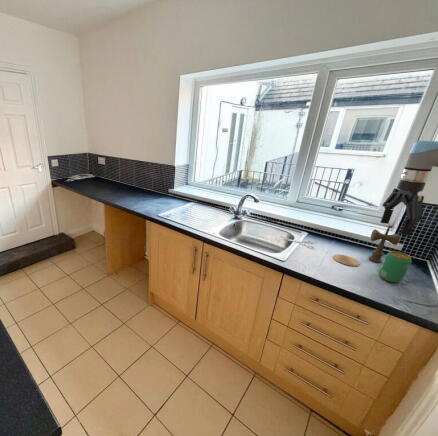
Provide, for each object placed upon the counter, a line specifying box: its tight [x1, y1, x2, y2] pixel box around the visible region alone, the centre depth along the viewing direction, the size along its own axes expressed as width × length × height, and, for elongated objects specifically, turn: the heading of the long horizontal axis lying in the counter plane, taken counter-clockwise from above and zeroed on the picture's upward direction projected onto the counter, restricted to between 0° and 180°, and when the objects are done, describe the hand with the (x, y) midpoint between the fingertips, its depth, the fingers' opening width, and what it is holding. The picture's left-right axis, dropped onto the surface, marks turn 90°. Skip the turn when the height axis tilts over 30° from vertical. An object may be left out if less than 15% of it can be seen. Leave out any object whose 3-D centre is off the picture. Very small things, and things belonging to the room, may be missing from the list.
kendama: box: [368, 225, 401, 264], centre depth 121 cm, size 6×10×20 cm, turn 58°
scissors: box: [279, 235, 318, 250], centre depth 144 cm, size 11×1×20 cm
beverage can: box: [378, 250, 413, 283], centre depth 108 cm, size 8×8×12 cm
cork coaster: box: [332, 254, 360, 267], centre depth 125 cm, size 11×11×1 cm
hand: (393, 228), depth 106 cm, fingers open, 13 cm apart
